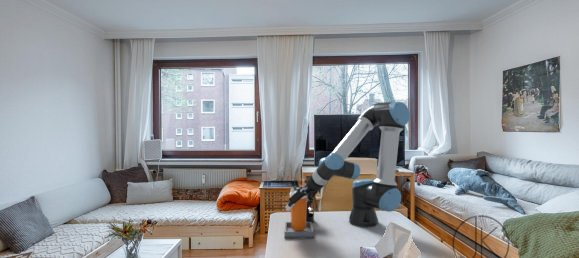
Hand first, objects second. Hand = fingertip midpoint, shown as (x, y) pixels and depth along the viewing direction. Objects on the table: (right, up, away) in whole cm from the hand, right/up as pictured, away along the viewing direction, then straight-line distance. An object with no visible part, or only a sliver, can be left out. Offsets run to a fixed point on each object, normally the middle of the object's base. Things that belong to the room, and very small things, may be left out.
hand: (293, 207), depth 148 cm
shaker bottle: (+2, -10, -2) cm, 11 cm away
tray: (+2, -12, -2) cm, 13 cm away
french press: (+7, -12, +16) cm, 21 cm away
